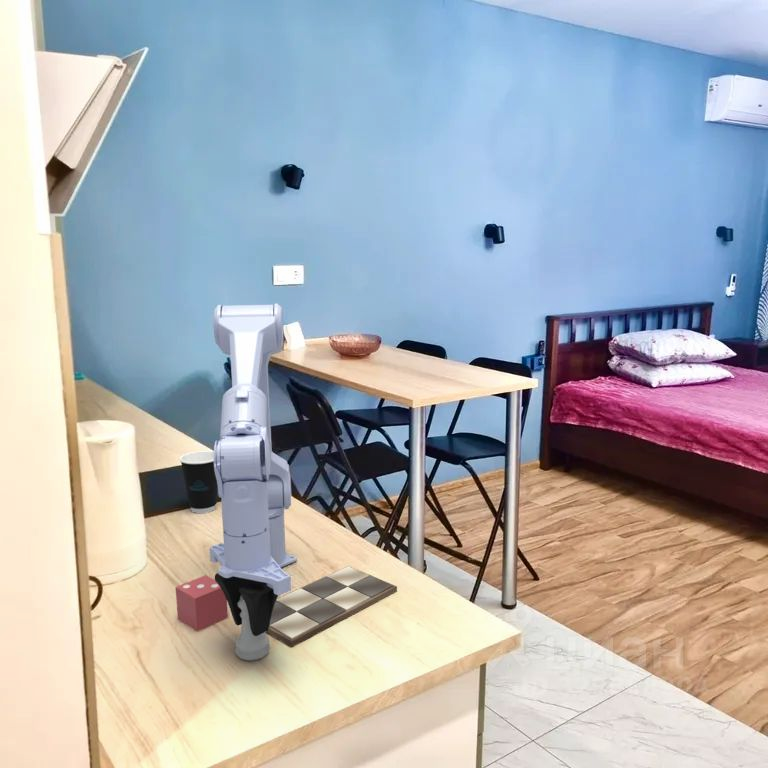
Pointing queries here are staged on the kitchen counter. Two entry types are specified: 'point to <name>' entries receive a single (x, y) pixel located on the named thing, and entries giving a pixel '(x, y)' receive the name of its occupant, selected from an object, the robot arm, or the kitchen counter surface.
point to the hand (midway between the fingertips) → (251, 627)
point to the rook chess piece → (250, 638)
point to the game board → (325, 604)
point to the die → (201, 603)
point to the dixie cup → (200, 480)
